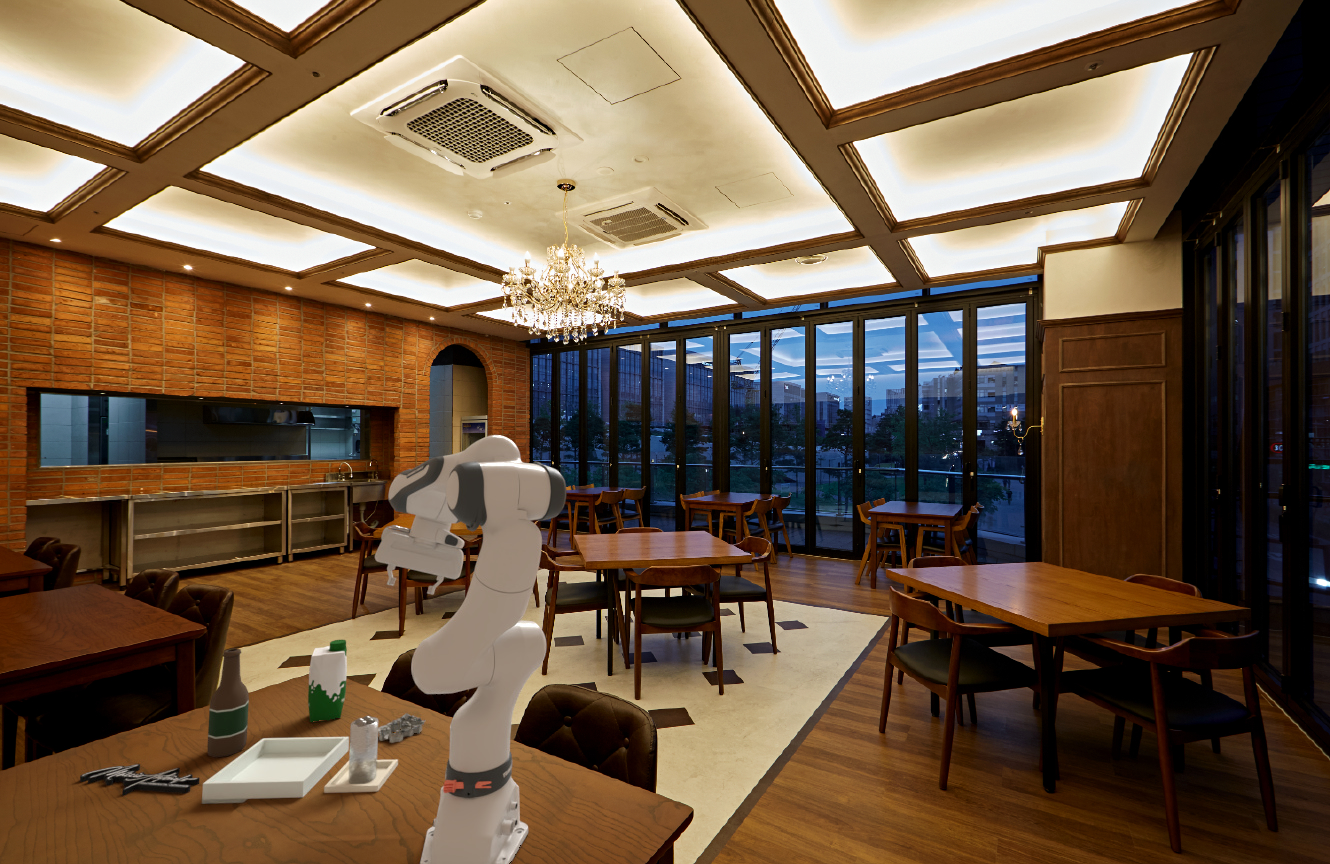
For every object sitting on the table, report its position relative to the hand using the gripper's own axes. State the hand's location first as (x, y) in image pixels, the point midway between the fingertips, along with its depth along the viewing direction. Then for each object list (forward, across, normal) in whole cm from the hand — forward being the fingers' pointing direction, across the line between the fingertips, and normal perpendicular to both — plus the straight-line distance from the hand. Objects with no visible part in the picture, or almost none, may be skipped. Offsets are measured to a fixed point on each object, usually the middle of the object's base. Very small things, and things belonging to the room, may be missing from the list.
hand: (410, 589), depth 142 cm
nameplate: (+52, -42, +8) cm, 67 cm away
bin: (+45, -14, +3) cm, 47 cm away
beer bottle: (+47, -31, +20) cm, 60 cm away
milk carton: (+40, -15, +36) cm, 56 cm away
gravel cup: (+40, +4, -3) cm, 41 cm away
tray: (+41, +4, -3) cm, 41 cm away
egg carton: (+37, +7, +18) cm, 42 cm away
